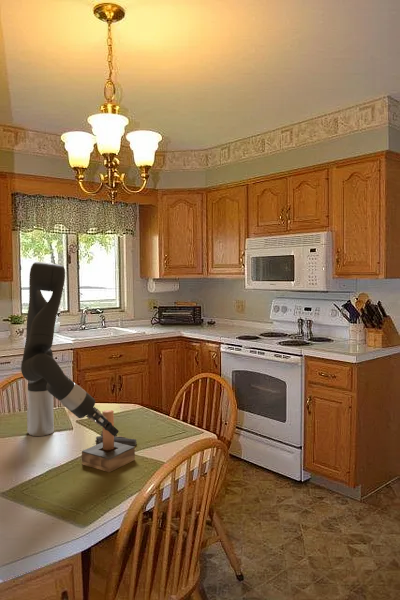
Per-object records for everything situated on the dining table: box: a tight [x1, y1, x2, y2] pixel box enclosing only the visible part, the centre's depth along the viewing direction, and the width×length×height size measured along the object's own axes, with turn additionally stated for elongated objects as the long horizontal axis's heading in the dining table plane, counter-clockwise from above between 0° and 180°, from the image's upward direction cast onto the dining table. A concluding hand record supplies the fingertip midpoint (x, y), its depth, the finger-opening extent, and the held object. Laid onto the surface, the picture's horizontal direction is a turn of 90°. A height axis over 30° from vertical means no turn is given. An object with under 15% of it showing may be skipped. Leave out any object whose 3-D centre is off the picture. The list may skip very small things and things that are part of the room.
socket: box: [81, 442, 136, 473], centre depth 159 cm, size 12×12×4 cm
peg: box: [101, 409, 115, 450], centre depth 158 cm, size 4×4×12 cm
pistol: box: [95, 430, 137, 447], centre depth 180 cm, size 3×15×12 cm
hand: (114, 431), depth 160 cm, fingers closed on peg, 3 cm apart
